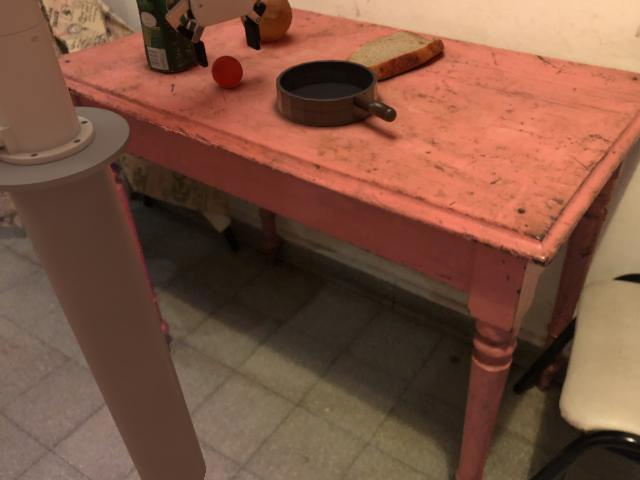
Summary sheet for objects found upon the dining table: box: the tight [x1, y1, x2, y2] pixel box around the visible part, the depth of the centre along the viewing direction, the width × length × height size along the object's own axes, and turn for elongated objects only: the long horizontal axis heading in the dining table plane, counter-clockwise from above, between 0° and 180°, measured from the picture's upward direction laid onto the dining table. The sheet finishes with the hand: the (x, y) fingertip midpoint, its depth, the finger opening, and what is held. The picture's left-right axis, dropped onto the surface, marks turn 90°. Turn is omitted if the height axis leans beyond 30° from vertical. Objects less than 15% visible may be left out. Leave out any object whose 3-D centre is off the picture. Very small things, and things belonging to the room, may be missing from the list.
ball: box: [211, 55, 244, 89], centre depth 95 cm, size 5×5×5 cm
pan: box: [275, 59, 379, 127], centre depth 90 cm, size 15×15×4 cm
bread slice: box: [346, 29, 445, 81], centre depth 102 cm, size 18×18×4 cm
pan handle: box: [354, 94, 398, 123], centre depth 83 cm, size 2×8×2 cm, turn 40°
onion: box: [239, 0, 293, 43], centre depth 110 cm, size 10×10×10 cm
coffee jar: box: [135, 0, 197, 73], centre depth 99 cm, size 10×8×19 cm
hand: (228, 56), depth 94 cm, fingers open, 9 cm apart
